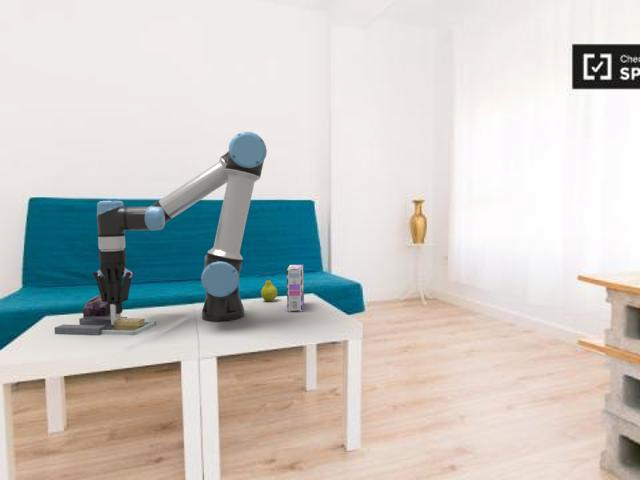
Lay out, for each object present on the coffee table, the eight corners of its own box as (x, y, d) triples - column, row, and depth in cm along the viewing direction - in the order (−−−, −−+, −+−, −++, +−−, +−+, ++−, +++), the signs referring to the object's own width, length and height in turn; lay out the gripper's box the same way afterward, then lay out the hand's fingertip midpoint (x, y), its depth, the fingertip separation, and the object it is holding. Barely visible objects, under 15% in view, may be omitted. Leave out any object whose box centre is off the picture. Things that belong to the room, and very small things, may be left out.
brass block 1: (133, 330, 133) (133, 318, 133) (126, 334, 129) (125, 321, 129) (122, 330, 134) (121, 317, 133) (114, 333, 130) (113, 321, 129)
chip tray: (156, 329, 136) (155, 321, 136) (135, 339, 125) (134, 331, 124) (125, 328, 138) (124, 320, 138) (101, 338, 126) (101, 330, 126)
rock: (79, 328, 143) (110, 325, 146) (75, 305, 141) (107, 302, 144) (89, 315, 155) (118, 312, 157) (86, 293, 153) (116, 291, 155)
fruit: (279, 299, 179) (278, 271, 179) (275, 302, 173) (275, 274, 172) (263, 299, 180) (262, 272, 179) (259, 302, 173) (258, 274, 172)
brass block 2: (145, 330, 132) (144, 318, 132) (137, 334, 128) (137, 321, 128) (133, 330, 133) (133, 318, 133) (125, 334, 129) (125, 321, 129)
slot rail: (127, 327, 139) (127, 317, 139) (99, 340, 125) (98, 328, 125) (87, 326, 141) (86, 316, 141) (55, 338, 127) (54, 327, 127)
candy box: (302, 312, 156) (301, 268, 155) (287, 312, 156) (286, 268, 155) (304, 303, 169) (303, 264, 168) (290, 304, 170) (289, 264, 168)
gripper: (138, 248, 133) (141, 321, 134) (101, 248, 135) (105, 320, 136) (123, 251, 125) (127, 327, 127) (85, 251, 127) (89, 326, 129)
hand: (116, 323), depth 132 cm, fingers closed
